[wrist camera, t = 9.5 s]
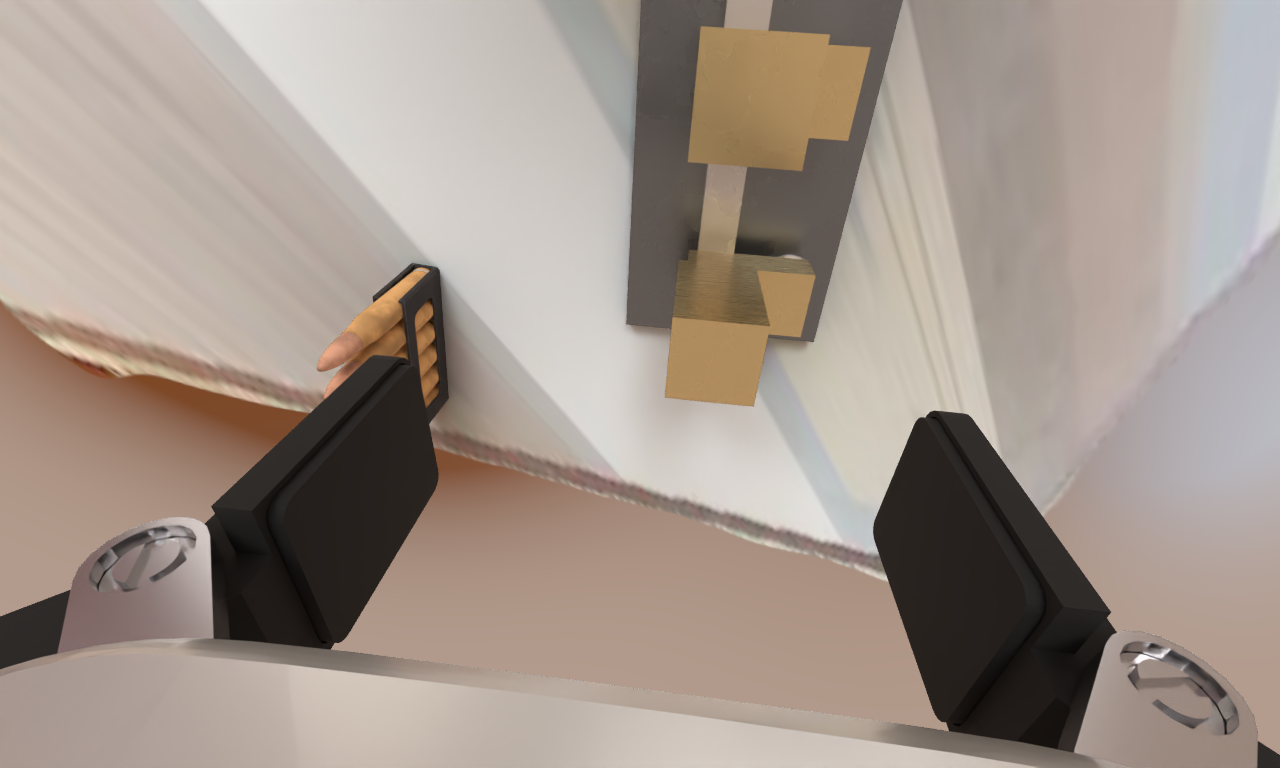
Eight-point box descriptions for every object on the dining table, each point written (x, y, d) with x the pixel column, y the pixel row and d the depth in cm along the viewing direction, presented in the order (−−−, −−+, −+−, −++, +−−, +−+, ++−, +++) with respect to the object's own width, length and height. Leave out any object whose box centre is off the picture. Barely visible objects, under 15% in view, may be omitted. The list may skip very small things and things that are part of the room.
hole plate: (648, -103, 24) (609, -209, 14) (917, -89, 24) (1080, -189, 14) (628, 316, 36) (598, 425, 26) (810, 333, 35) (854, 452, 25)
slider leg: (701, 32, 25) (700, 26, 17) (854, 42, 25) (932, 40, 16) (692, 125, 28) (687, 161, 19) (832, 135, 27) (892, 178, 19)
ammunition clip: (411, 262, 35) (295, 349, 25) (439, 266, 35) (334, 356, 25) (425, 395, 41) (335, 509, 31) (448, 399, 41) (366, 514, 31)
